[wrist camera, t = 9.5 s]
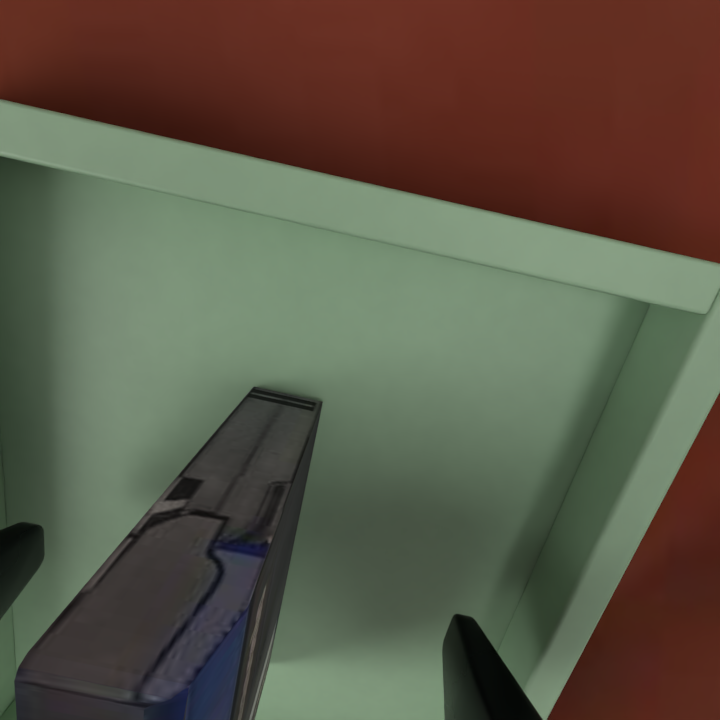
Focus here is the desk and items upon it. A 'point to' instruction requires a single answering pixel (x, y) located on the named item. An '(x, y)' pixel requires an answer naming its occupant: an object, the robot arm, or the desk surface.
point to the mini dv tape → (187, 585)
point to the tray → (341, 399)
